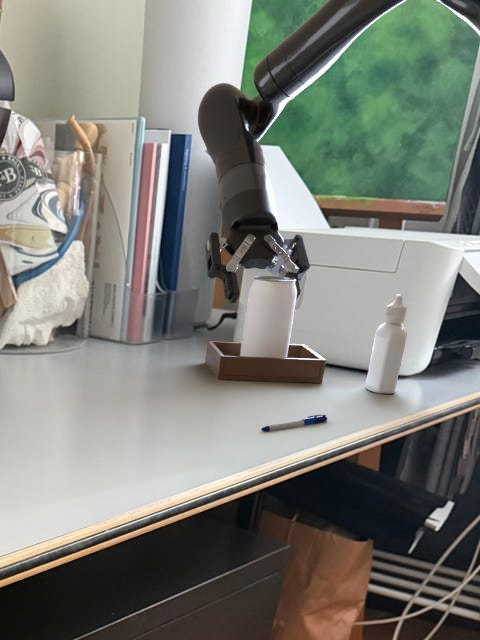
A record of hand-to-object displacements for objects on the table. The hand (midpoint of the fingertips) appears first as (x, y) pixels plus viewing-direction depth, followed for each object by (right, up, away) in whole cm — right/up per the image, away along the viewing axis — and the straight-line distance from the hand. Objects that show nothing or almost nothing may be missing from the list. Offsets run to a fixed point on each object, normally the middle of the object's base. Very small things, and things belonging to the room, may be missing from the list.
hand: (264, 300), depth 131 cm
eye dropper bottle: (+14, -14, -6) cm, 21 cm away
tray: (0, -9, +2) cm, 10 cm away
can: (0, -9, +2) cm, 9 cm away
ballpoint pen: (-4, -24, -25) cm, 35 cm away
